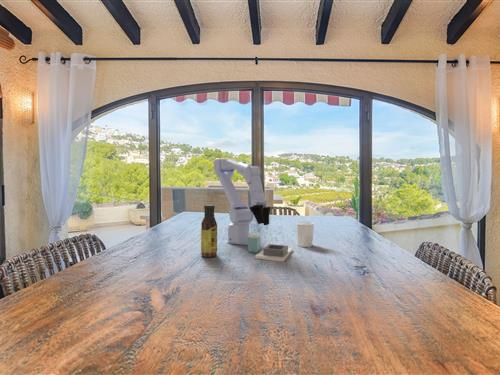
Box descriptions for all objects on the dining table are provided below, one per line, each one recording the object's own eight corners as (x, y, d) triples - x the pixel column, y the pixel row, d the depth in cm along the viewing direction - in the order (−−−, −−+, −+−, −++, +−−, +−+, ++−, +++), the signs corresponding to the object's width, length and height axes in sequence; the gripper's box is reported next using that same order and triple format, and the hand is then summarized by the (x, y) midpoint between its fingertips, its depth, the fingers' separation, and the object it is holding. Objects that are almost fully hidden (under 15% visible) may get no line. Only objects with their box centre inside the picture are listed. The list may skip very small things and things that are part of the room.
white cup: (312, 243, 140) (313, 221, 139) (314, 247, 132) (314, 225, 132) (295, 242, 141) (295, 221, 140) (296, 247, 133) (296, 224, 132)
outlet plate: (255, 258, 116) (255, 249, 116) (267, 248, 131) (267, 240, 131) (283, 261, 112) (283, 252, 112) (292, 250, 127) (292, 242, 127)
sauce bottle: (214, 258, 116) (214, 206, 114) (198, 257, 117) (198, 205, 116) (219, 253, 122) (219, 204, 121) (204, 252, 123) (204, 203, 122)
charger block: (247, 251, 126) (247, 234, 125) (251, 249, 129) (251, 232, 129) (256, 252, 124) (257, 235, 124) (260, 250, 128) (260, 233, 128)
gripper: (259, 187, 121) (267, 220, 118) (270, 193, 134) (277, 223, 131) (243, 192, 123) (250, 224, 120) (256, 197, 137) (262, 227, 133)
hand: (263, 224), depth 125 cm, fingers open, 7 cm apart
